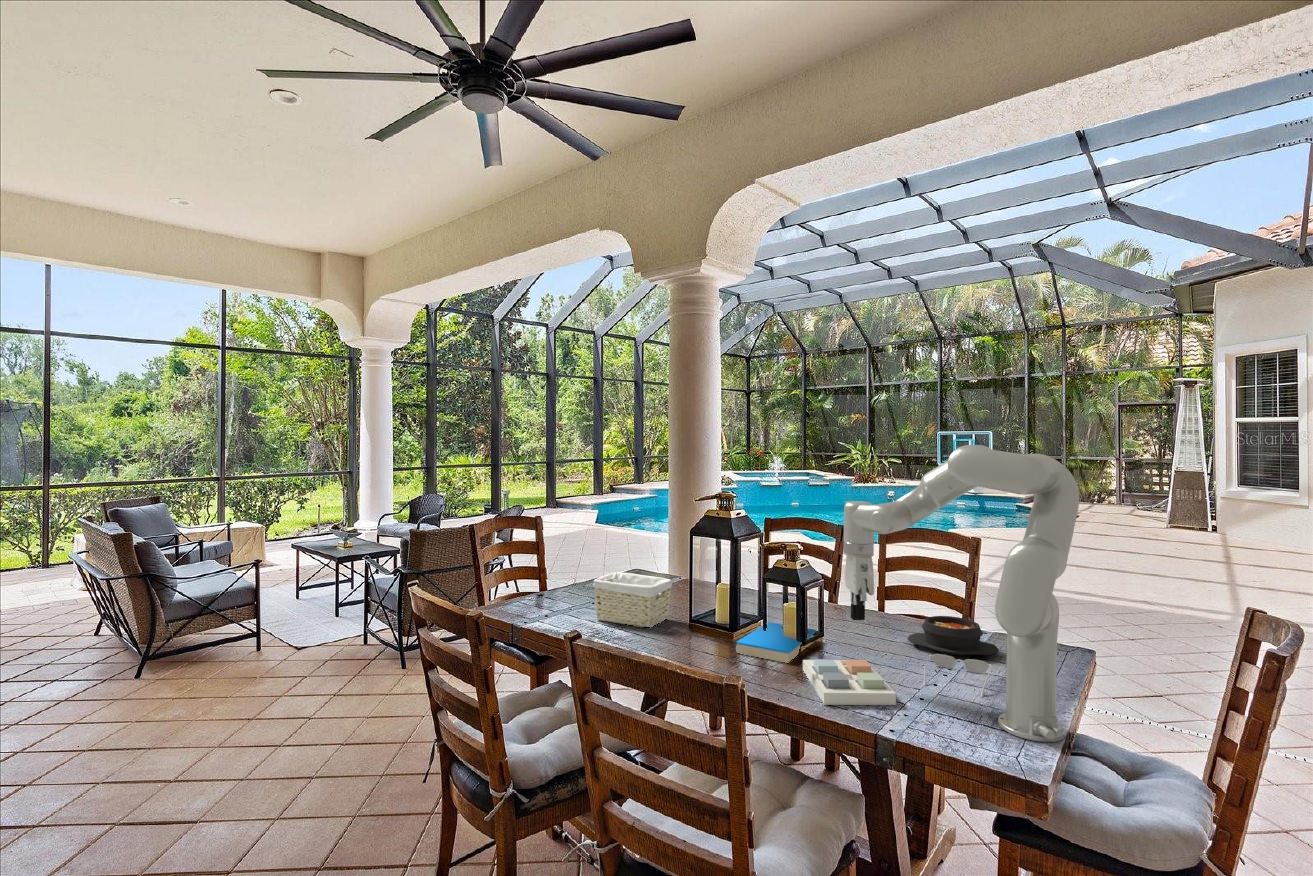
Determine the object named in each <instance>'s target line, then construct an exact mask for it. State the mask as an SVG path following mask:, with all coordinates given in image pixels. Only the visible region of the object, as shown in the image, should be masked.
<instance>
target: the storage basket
mask: <svg viewBox="0 0 1313 876" xmlns="http://www.w3.org/2000/svg"><path fill="white" fill-rule="evenodd" d="M592 585H593V586H592V588H594V595H595V596H594V597H595V612H596V619H597V620H598V621H603V622H608V623H615V624H621V625H625V624H627V625H626V626H628V625H633V626H632V627H639V628H642V627H653V626H654V625H655V624H657V623H659V622H661V621H662V619H664V618H668V619H669V613H670V611H669V609H670V602H671V598H670V597H671V587H673V584H672V579H671V578H670V579H669V578H665V577H659V576H652V575H644V574H639V573H638V574H637V573H633V572H632V573H630V572H618V571H615V572H612V573H608V574H606V575H603V576H600V577H598V578H595V579H594V580H593V584H592ZM654 627H655V626H654ZM654 627H653V628H654Z"/></svg>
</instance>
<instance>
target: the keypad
mask: <svg viewBox="0 0 1313 876" xmlns="http://www.w3.org/2000/svg"><path fill="white" fill-rule="evenodd" d="M833 660H834V661H835V663H836V664H837V665H838V672H843V673H844V674H845V676H846V677H847V678H848V679H849V689H827V688H826V686H825V685H824V683H823V675H818V674H817V673H816V671H815V670H814V659H802V672H803V671H804V672H803V674H804V673H805V674H806V675H805V674H804V675H805V677H806V676H807V677H806V678H808V679H809V680H808V679H807V680H808V682H809V681H810V682H811V683H810V682H809V683H810V685H811V684H812V685H811V687H812V686H813V687H814V688H813V687H812V688H813V690H814V689H815V690H814V691H816V692H817V693H816V692H815V693H816V695H817V694H818V695H817V696H819V697H820V698H819V697H818V698H819V700H820V699H821V700H822V701H821V700H820V701H821V703H822V702H823V703H822V705H823V704H824V705H823V706H827V705H896V706H897V704H896V703H897V693H896V691H894V689H893V688H891V687H890V686H889V684H888V683H887V682H886V681H885V680H884V689H862V688H861V687H860V686H859V684H858V683H857V675H851V674H850V673H849V672H848V671H847V669H846V660H847V659H833ZM871 673H878V672H877V671H876V669H874V668H873V667H872V666H871Z"/></svg>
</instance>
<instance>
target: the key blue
mask: <svg viewBox="0 0 1313 876" xmlns="http://www.w3.org/2000/svg"><path fill="white" fill-rule="evenodd" d="M813 660H814V670H815V671H816V673H817V674H818V675H823V672H838V665H837V664H836V663H835V661H834V660H835V659H821V658H820V659H813Z"/></svg>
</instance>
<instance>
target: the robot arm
mask: <svg viewBox="0 0 1313 876" xmlns="http://www.w3.org/2000/svg"><path fill="white" fill-rule="evenodd" d="M978 487H979V488H983V489H989V490H995V491H1000V492H1004V493H1005V492H1006V493H1011V494H1014V495H1023V496H1024V495H1025V496H1026V495H1027V496H1028V495H1029V496H1030V495H1033V503H1032V506H1031V510H1030V512H1029V515H1028V519H1027V525H1026V529H1025V533H1024V537H1023V539H1022V540H1021V541H1020V542H1018V543H1017V544H1015V545H1014V546H1013V547H1012V548H1011V549H1010V550H1009V552H1008V553H1007V556H1006V557H1005V562H1004V564H1003V568H1002V571H1001V572H1002V573H1001V577H1000V580H999V581H1000V582H999V585H998V590H997V594H996V599H995V603H994V615H995V619H996V621H997V623H998V624H999V626H1000V627H1001V628H1002V629H1003V630H1004V632H1006V649H1005V650H1006V651H1005V652H1006V653H1005V656H1006V657H1005V666H1006V667H1005V668H1006V669H1005V670H1006V671H1005V673H1006V674H1005V677H1006V678H1005V688H1006V689H1005V696H1006V697H1005V701H1006V702H1005V706H1006V707H1005V712H1004V713H1002V714H1000V715H999V716H998V719H997V720H998V722H997V723H998V726H999V727H1000V728H1001V730H1004V731H1005V732H1007V733H1009V734H1011V735H1013V736H1016V737H1019V738H1021V739H1025V740H1029V741H1033V742H1034V741H1035V742H1040V743H1041V742H1042V743H1053V742H1054V743H1055V742H1059V741H1062V740H1065V739H1064V738H1065V737H1066V730H1065V728H1064V727H1063V726H1062V725H1061V723H1058V721H1059V719H1058V717H1057V714H1058V712H1057V709H1058V707H1057V706H1058V705H1057V697H1058V695H1057V685H1058V684H1057V683H1058V682H1057V676H1058V675H1057V671H1058V670H1057V669H1058V668H1057V665H1058V663H1057V662H1058V635H1059V624H1060V623H1059V622H1060V606H1059V603H1058V599H1057V598H1056V596H1055V595H1054V594H1053V592H1054V588H1055V583H1056V580H1057V579H1059V578H1060V577H1062V575H1063V574H1064V573H1065V571H1066V569H1067V566H1068V565H1067V563H1068V560H1069V554H1070V550H1071V545H1072V540H1073V537H1074V531H1075V526H1076V521H1077V517H1078V512H1079V508H1080V507H1079V506H1080V491H1079V487H1078V484H1077V481H1076V479H1075V477H1074V475H1073V474H1072V473H1071V471H1070V470H1069V469H1067V467H1066V466H1065V465H1064V464H1062V463H1061V462H1060V461H1058V460H1057V459H1055V458H1053V457H1052V456H1049V455H1046V454H1043V453H1027V454H1024V453H1016V452H1012V451H1011V452H1009V451H1001V450H997V449H996V450H995V449H992V448H990V447H989V446H986V445H982V444H967V445H961V446H959V447H957V448H956V449H954V450H953V451H952V452H951V453H950V455H949V457H948V459H947V460H945V461H944V462H942V463H941V464H940V465H938V466H936V467H934V468H933V469H932V470H930V471H927V472H926V473H925V474H924V475H923V476H922V477H921V481H920V483H919V484H918V485H917V486H916V487H915V488H914V489H912V490H911V491H909V492H908V493H906V494H904V495H903V496H901V497H900V498H898V499H896V500H894V501H891V502H885V503H884V502H883V503H878V504H875V503H874V504H873V503H872V502H868V501H862V500H851V501H848V502H847V501H846V502H845V504H844V505H843V507H844V508H843V555H845V556H846V558H845V571H844V572H845V573H844V574H845V579H844V581H845V582H844V583H845V587H846V588H847V589H848V591H849V592H850V593H849V594H850V619H852V621H865V618H866V612H865V611H866V602H867V601H868V600H867V599H868V598H867V594H868V595H870V596H873V595H874V594H875V584H874V583H875V578H874V577H875V575H874V564H873V563H874V562H873V557H874V555H875V553H874V552H875V551H874V549H875V547H874V545H875V543H874V542H875V540H874V539H875V533H876V534H879V535H887V534H892V533H895V532H899V531H904V530H906V529H908V528H910V527H911V526H913V525H915V524H917V523H919V522H920V521H922V520H924V519H926V518H927V517H929V516H931V515H933V514H934V513H935V512H937V511H938V510H940V509H943V508H944V507H945V506H947V505H948V504H950V503H952V502H953V501H954V500H956V499H958V498H960V497H962V496H963V495H965V494H967V493H968V492H971V491H972V490H974V489H976V488H978Z"/></svg>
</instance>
